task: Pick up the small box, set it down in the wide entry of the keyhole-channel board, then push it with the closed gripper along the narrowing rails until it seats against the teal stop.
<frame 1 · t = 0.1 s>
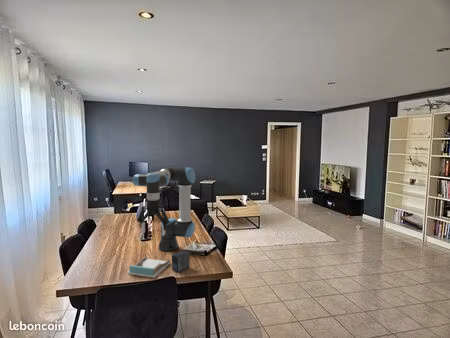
hand: (153, 234, 169), 28 cm above the table, fingers open, 13 cm apart
small box: (180, 269, 186), on the table
keyhole board: (149, 268, 186), on the table
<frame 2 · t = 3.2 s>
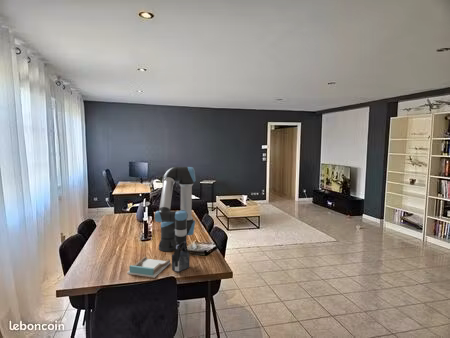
hand: (180, 266, 186), 1 cm above the table, fingers closed on small box, 12 cm apart
small box: (180, 269, 186), on the table, touching gripper
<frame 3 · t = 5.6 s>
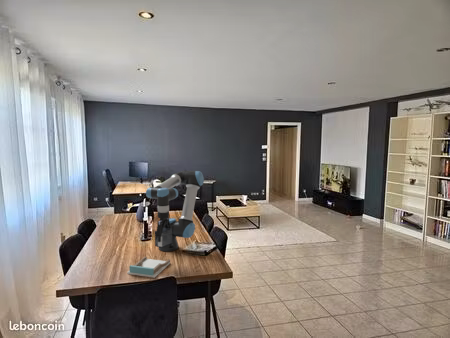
hand: (163, 242, 189), 16 cm above the table, fingers closed on small box, 12 cm apart
small box: (163, 245, 189), point 14 cm above the table, touching gripper
when the fingers open (4 cm above the table, at t = 8.0 s): small box drops 2 cm, resting on keyhole board.
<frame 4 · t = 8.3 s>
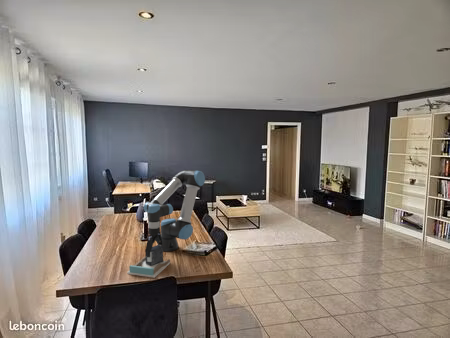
hand: (154, 257, 192), 5 cm above the table, fingers open, 13 cm apart
small box: (154, 262, 192), point 1 cm above the table, touching keyhole board
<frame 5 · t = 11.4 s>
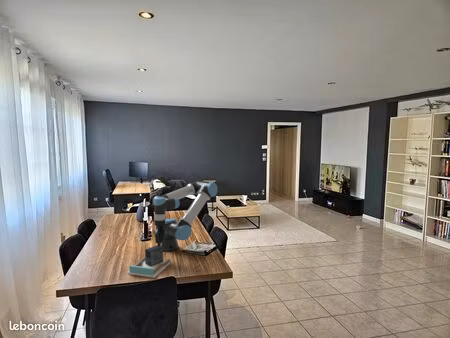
hand: (159, 251, 200), 6 cm above the table, fingers closed
small box: (154, 263, 192), point 1 cm above the table, touching gripper, keyhole board
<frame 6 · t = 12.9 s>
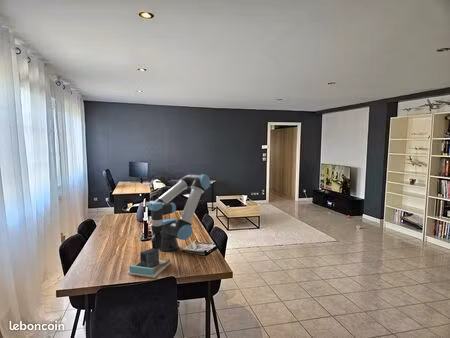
hand: (156, 258, 195), 3 cm above the table, fingers closed
small box: (149, 266, 186), point 1 cm above the table, touching hand
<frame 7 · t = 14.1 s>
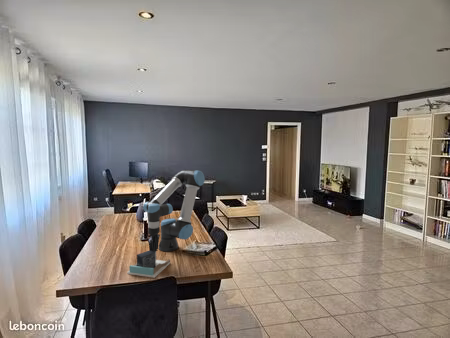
hand: (154, 260, 191), 3 cm above the table, fingers closed
small box: (146, 269, 182), point 1 cm above the table, touching hand, keyhole board
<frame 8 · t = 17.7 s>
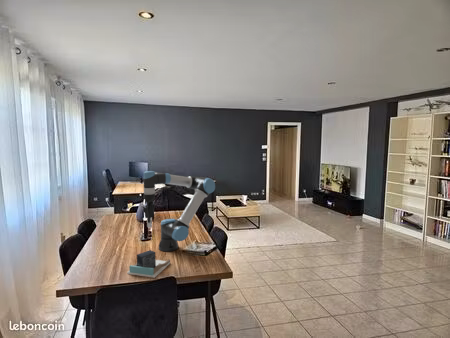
hand: (149, 226, 196), 24 cm above the table, fingers closed
small box: (146, 269, 182), point 1 cm above the table, touching keyhole board
at the end: small box 1.4 cm from the target spot on the keyhole board, point 1.0 cm above the keyhole board's base; small box tilted 0°; the gripper is holding nothing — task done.
